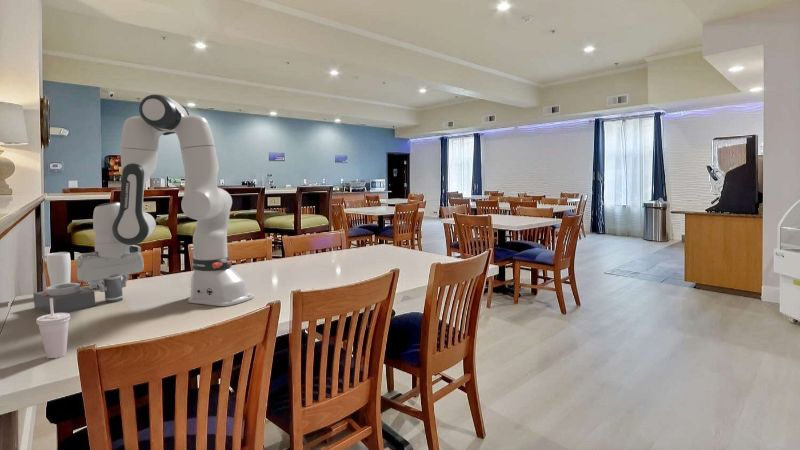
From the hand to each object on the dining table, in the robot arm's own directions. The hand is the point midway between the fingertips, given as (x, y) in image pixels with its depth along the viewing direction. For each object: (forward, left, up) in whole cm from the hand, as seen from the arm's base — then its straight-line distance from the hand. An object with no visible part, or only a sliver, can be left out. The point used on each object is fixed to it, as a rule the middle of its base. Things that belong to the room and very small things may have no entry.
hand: (113, 289), depth 150 cm
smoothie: (-36, +33, -4) cm, 49 cm away
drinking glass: (+24, +5, -4) cm, 25 cm away
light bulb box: (+23, -10, -4) cm, 25 cm away
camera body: (+6, +12, -4) cm, 14 cm away
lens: (0, 0, -4) cm, 4 cm away
